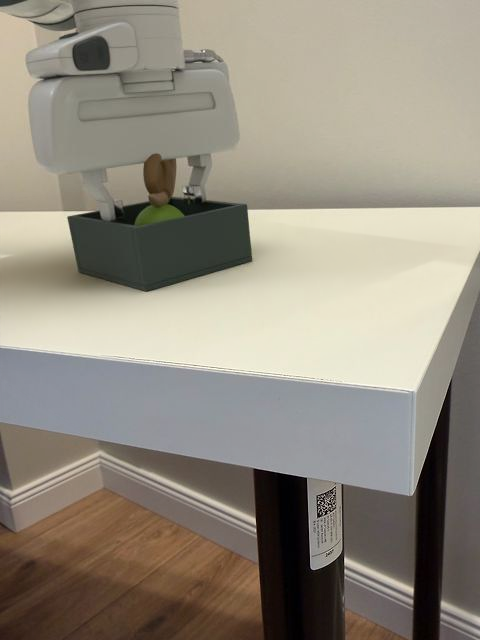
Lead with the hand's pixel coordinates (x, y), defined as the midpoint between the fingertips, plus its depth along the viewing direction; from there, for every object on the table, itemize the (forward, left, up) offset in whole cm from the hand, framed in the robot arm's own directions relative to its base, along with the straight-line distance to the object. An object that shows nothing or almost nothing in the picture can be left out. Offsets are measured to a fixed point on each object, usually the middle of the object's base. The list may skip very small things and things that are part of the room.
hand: (156, 211), depth 63 cm
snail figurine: (0, 0, -5) cm, 5 cm away
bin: (0, 0, -5) cm, 5 cm away
